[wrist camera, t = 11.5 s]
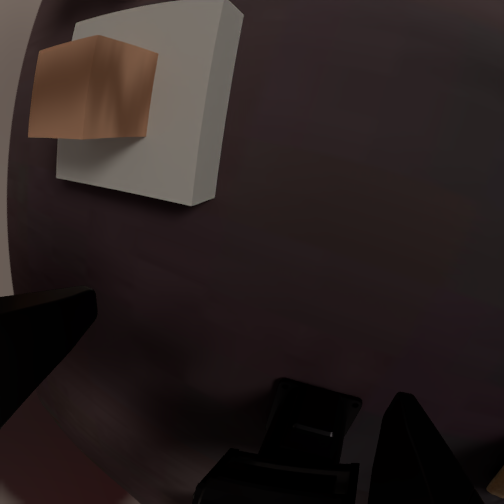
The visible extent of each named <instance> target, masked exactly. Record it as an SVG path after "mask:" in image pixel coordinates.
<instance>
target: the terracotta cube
mask: <svg viewBox="0 0 504 504" xmlns="http://www.w3.org/2000/svg"><path fill="white" fill-rule="evenodd" d="M158 55H159V54H158V53H155V52H153V51H150V50H147V49H144V48H141V47H138V46H135V45H131V44H128V43H125V42H122V41H118V40H115V39H112V38H108V37H105V36H101V35H94V36H90V37H86V38H82V39H78V40H74V41H71V42H67V43H64V44H60V45H57V46H53V47H50V48H47V49H44V50H41V51H39V56H38V61H37V66H36V72H35V78H34V85H33V92H32V100H31V109H30V120H29V133H28V137H36V138H64V139H82V140H83V139H98V138H117V137H146V134H147V126H148V118H149V110H150V103H151V96H152V89H153V83H154V77H155V71H156V65H157V60H158Z"/></svg>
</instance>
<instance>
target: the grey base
mask: <svg viewBox="0 0 504 504" xmlns="http://www.w3.org/2000/svg"><path fill="white" fill-rule="evenodd" d="M243 16H244V15H243V14H242V13H241V12H240V11H239V10H238V9H237V8H236V7H235V6H234V5H233V4H232V3H231V2H230V1H229V0H180V1H172V2H165V3H158V4H152V5H147V6H141V7H136V8H131V9H127V10H122V11H118V12H114V13H109V14H106V15H102V16H98V17H94V18H91V19H87V20H84V21H81V22H77V23H76V25H75V29H74V33H73V38H72V41H74V40H78V39H82V38H86V37H90V36H94V35H101V36H105V37H108V38H112V39H115V40H118V41H122V42H125V43H128V44H131V45H135V46H138V47H141V48H144V49H147V50H150V51H153V52H155V53H158V54H159V55H158V60H157V65H156V71H155V77H154V83H153V89H152V96H151V103H150V110H149V118H148V126H147V134H146V137H117V138H98V139H83V140H82V139H64V138H58V146H57V168H56V178H59V179H64V180H69V181H75V182H80V183H85V184H90V185H95V186H100V187H105V188H109V189H114V190H119V191H124V192H129V193H133V194H138V195H143V196H147V197H152V198H157V199H161V200H166V201H170V202H175V203H179V204H184V205H188V206H194V205H196V204H199V203H202V202H204V201H207V200H210V199H212V198H215V191H216V183H217V176H218V169H219V161H220V154H221V147H222V140H223V134H224V127H225V120H226V114H227V107H228V101H229V95H230V89H231V83H232V77H233V71H234V65H235V60H236V54H237V48H238V43H239V37H240V32H241V27H242V22H243Z"/></svg>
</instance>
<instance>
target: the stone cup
mask: <svg viewBox="0 0 504 504" xmlns="http://www.w3.org/2000/svg"><path fill="white" fill-rule="evenodd" d="M486 489H487V491H488V492H489V493H491V494H492V495H497V496H499V497H501V498H504V465H503V467H502V468H501V469H500V471H499V472H498V473H497V474H496V476H495V477H494V478H493V479H492V481H491V482H490V483H489V484H488V486H487V488H486Z"/></svg>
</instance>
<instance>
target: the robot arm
mask: <svg viewBox="0 0 504 504" xmlns="http://www.w3.org/2000/svg"><path fill="white" fill-rule="evenodd" d="M96 317H97V302H96V293H95V291H94V290H93V289H91V288H89V287H87V286H77V287H70V288H63V289H55V290H48V291H41V292H34V293H26V294H19V295H12V296H4V297H0V429H1V428H2V427H3V425H4V424H5V423H6V422H7V421H8V419H9V418H10V417H11V416H12V415H13V414H14V413H15V411H16V410H17V409H18V408H19V407H20V406H21V405H22V403H23V402H24V401H25V400H26V399H27V398H28V397H29V396H30V394H31V393H32V392H33V391H34V390H35V389H36V388H37V387H38V386H39V384H40V383H41V382H42V381H43V380H44V379H45V378H46V377H47V376H48V375H49V374H50V373H51V371H52V370H53V369H54V368H55V367H56V366H57V365H58V364H59V363H60V362H61V361H62V360H63V359H64V358H65V357H66V355H67V354H68V353H69V352H70V351H71V350H72V348H73V347H74V346H75V345H76V343H77V342H78V341H79V339H80V338H81V337H82V336H83V334H84V333H85V332H86V331H87V329H88V328H89V327H90V326H91V324H92V323H93V322H94V321H95V319H96ZM284 384H286V385H288V386H285V385H284ZM354 403H357V404H354ZM361 407H362V400H361V399H360V398H358V397H353V396H349V395H345V394H341V393H337V392H333V391H329V390H326V389H322V388H318V387H315V386H311V385H307V384H304V383H300V382H297V381H293V380H290V379H286V378H285V379H282V380H281V381H280V382H279V385H278V388H277V392H276V395H275V398H274V401H273V404H272V408H271V411H270V414H269V417H268V420H267V423H266V426H265V429H266V431H267V434H266V436H265V438H264V441H263V443H262V446H261V448H260V450H259V453H258V454H254V453H248V452H243V451H239V449H234V448H230V449H229V450H228V452H227V453H226V454H225V455H224V456H223V457H222V458H221V459H220V460H219V462H218V463H217V464H216V465H215V466H214V467H213V468H212V470H211V471H210V472H209V473H208V474H207V475H206V476H205V477H204V478H203V479H202V481H201V482H200V483H199V484H198V485H197V487H196V491H195V492H194V494H193V502H192V504H355V498H356V490H357V482H358V473H359V463H351V464H339V462H340V457H341V451H342V445H343V439H344V436H345V434H346V433H347V431H348V429H349V428H350V426H351V424H352V423H353V421H354V419H355V418H356V416H357V414H358V412H359V411H360V409H361ZM368 504H484V502H483V500H482V499H481V497H480V496H479V494H478V492H477V491H476V489H474V486H473V484H472V483H471V481H470V480H469V478H468V476H467V475H466V473H465V472H464V470H463V468H462V467H461V465H460V464H459V462H458V461H457V459H456V458H455V456H454V454H453V453H452V451H451V450H450V448H449V447H448V445H447V444H446V442H445V441H444V439H443V438H442V436H441V435H440V433H439V432H438V430H437V429H436V427H435V426H434V424H433V423H432V421H431V420H430V418H429V417H428V415H427V414H426V412H425V411H424V409H423V408H422V407H421V405H420V404H419V402H418V401H417V399H416V398H415V396H414V395H412V394H409V393H404V392H398V393H397V394H396V395H395V397H394V399H393V400H392V402H391V404H390V405H389V407H388V408H387V410H386V412H385V414H384V416H383V419H382V424H381V429H380V435H379V440H378V445H377V449H376V454H375V459H374V463H373V468H372V475H371V483H370V491H369V498H368Z"/></svg>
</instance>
